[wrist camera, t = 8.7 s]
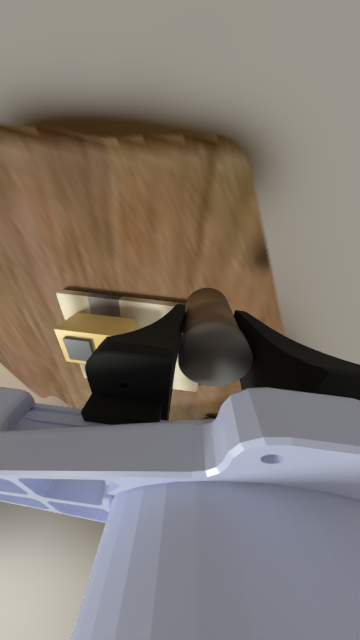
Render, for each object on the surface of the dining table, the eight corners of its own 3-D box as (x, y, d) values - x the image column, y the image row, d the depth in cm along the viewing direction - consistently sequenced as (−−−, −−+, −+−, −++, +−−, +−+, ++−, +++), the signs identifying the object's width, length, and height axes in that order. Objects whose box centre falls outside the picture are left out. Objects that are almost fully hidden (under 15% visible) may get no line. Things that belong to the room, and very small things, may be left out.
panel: (214, 306, 20) (215, 310, 19) (196, 385, 29) (196, 391, 28) (62, 289, 21) (55, 292, 20) (88, 372, 29) (84, 377, 28)
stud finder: (135, 319, 21) (123, 339, 17) (137, 348, 24) (127, 371, 20) (76, 312, 21) (51, 331, 17) (84, 341, 24) (64, 363, 20)
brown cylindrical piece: (234, 289, 12) (264, 337, 7) (223, 328, 14) (240, 389, 9) (186, 284, 12) (181, 328, 7) (182, 323, 14) (175, 382, 9)
